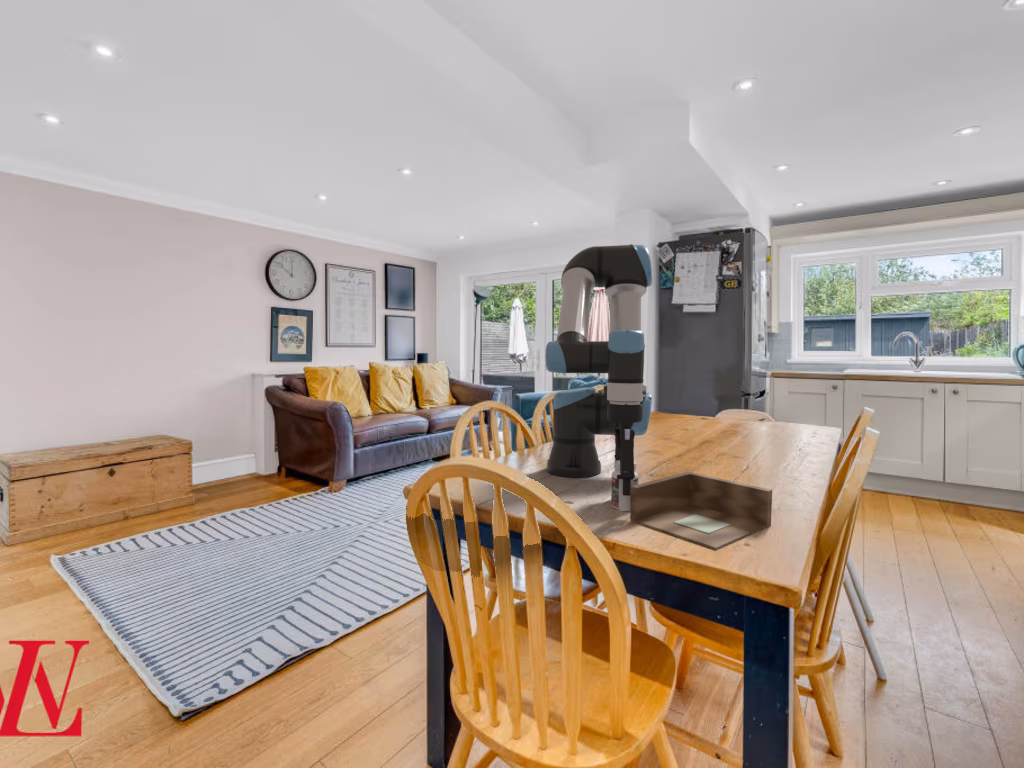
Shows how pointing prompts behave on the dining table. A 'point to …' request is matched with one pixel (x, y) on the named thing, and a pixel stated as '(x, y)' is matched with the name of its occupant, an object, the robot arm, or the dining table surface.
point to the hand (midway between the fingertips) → (622, 501)
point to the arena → (701, 508)
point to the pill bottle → (616, 484)
